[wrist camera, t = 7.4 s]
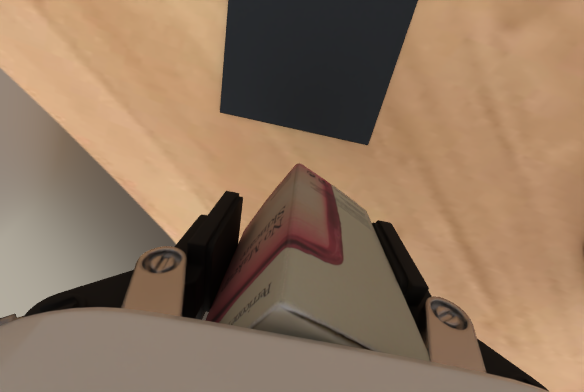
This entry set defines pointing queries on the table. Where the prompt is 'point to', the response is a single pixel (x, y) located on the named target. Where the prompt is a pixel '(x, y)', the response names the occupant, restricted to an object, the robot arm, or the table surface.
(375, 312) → the small box
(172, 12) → the table surface
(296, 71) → the desk mat
